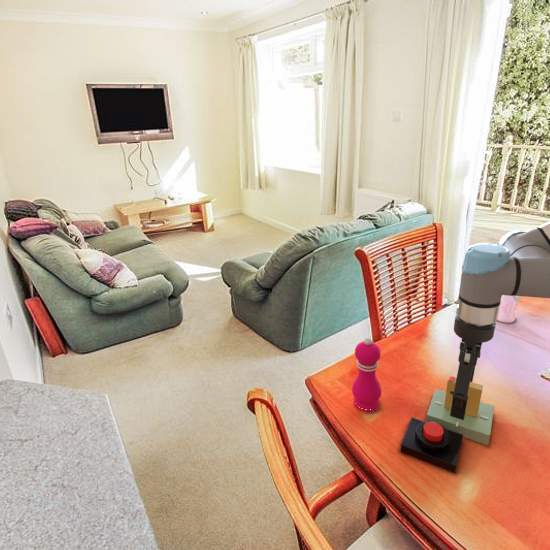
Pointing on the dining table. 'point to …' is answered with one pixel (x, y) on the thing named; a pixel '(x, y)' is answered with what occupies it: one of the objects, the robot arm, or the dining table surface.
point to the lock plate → (469, 426)
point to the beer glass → (508, 308)
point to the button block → (432, 446)
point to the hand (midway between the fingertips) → (461, 397)
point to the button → (433, 432)
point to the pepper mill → (367, 376)
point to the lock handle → (473, 396)
